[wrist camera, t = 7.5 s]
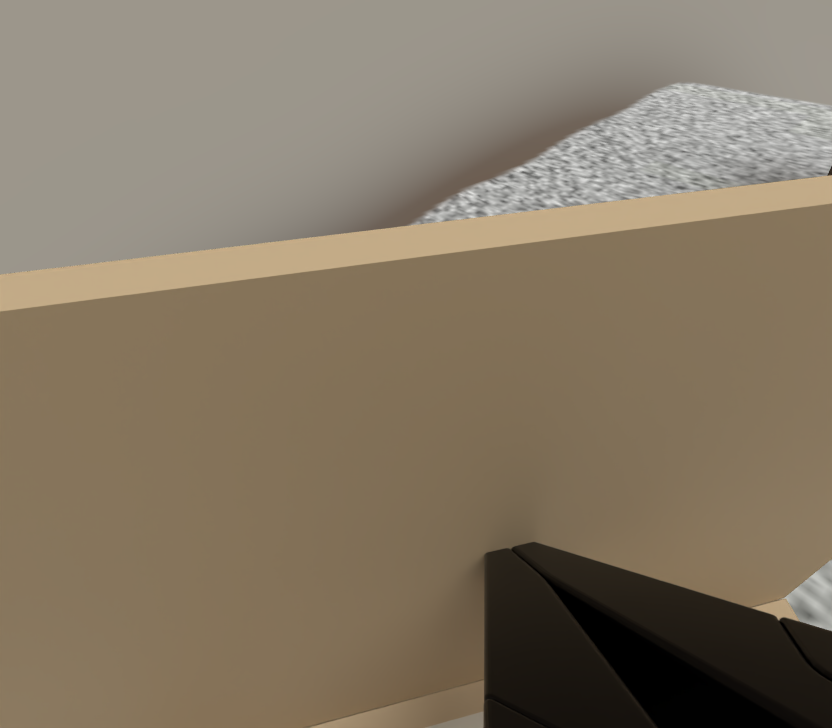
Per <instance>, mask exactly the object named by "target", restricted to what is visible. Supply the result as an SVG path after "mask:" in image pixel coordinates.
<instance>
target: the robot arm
mask: <svg viewBox="0 0 832 728" xmlns="http://www.w3.org/2000/svg"><path fill="white" fill-rule="evenodd" d="M483 728H832V631H829V630H825V629H822V628H819V627H816V626H812V625H809V624H806V623H803V622H799V621H796V620H793V619H790V618H786V617H782V618H780V620H778V618H777V617H776V616H775V615H773V614H769V613H766V612H763V611H759V610H756V609H753V608H750V607H746V606H743V605H740V604H737V603H733V602H730V601H727V600H724V599H720V598H717V597H714V596H710V595H707V594H704V593H701V592H697V591H694V590H691V589H688V588H684V587H681V586H678V585H674V584H671V583H668V582H665V581H661V580H658V579H655V578H652V577H648V576H645V575H642V574H638V573H635V572H632V571H629V570H625V569H622V568H619V567H616V566H612V565H609V564H606V563H603V562H599V561H596V560H593V559H590V558H586V557H583V556H580V555H576V554H573V553H570V552H567V551H563V550H560V549H557V548H554V547H550V546H547V545H544V544H541V543H537V542H530V543H526V544H522V545H517V546H514V547H512V549H509V548H504V549H500V550H496V551H491V552H487V553H486V554H485V555H484V707H483Z"/></svg>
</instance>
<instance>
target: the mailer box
mask: <svg viewBox="0 0 832 728" xmlns="http://www.w3.org/2000/svg"><path fill="white" fill-rule="evenodd" d="M750 608H753V609H756V610H759V611H763V612H766V613H769V614H773V615H775V616H776V617H777V618H778V620H780V618H782V617H786V618H790V619H793V620H796V621H799V619H798V618H797V616H796V615H795V613H794V611H793V610H792V608H791V606H790V605H789V603H788V601H787V600H786V599H780V600H774V601H770V602H766V603H763V604H759V605H755V606H752V607H750ZM799 622H800V621H799ZM483 707H484V679H481V680H477V681H473V682H470V683H466V684H462V685H459V686H455V687H451V688H448V689H444V690H440V691H436V692H433V693H429V694H425V695H422V696H418V697H414V698H410V699H407V700H403V701H399V702H396V703H392V704H388V705H385V706H381V707H377V708H373V709H370V710H366V711H362V712H359V713H355V714H351V715H347V716H344V717H340V718H336V719H333V720H329V721H325V722H322V723H318V724H314V725H310V726H307V727H303V728H483Z"/></svg>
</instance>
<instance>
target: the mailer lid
mask: <svg viewBox="0 0 832 728" xmlns="http://www.w3.org/2000/svg"><path fill="white" fill-rule="evenodd" d="M530 542H537V543H541V544H544V545H547V546H550V547H554V548H557V549H560V550H563V551H567V552H570V553H573V554H576V555H580V556H583V557H586V558H590V559H593V560H596V561H599V562H603V563H606V564H609V565H612V566H616V567H619V568H622V569H625V570H629V571H632V572H635V573H638V574H642V575H645V576H648V577H652V578H655V579H658V580H661V581H665V582H668V583H671V584H674V585H678V586H681V587H684V588H688V589H691V590H694V591H697V592H701V593H704V594H707V595H710V596H714V597H717V598H720V599H724V600H727V601H730V602H733V603H737V604H740V605H743V606H746V607H752V606H755V605H759V604H763V603H766V602H770V601H774V600H777V599H781V598H784V597H786V596H787V595H788V594H789V593H791V592H792V591H793V590H794V589H795V588H797V587H798V586H799V585H800V584H802V583H803V582H804V581H805V580H807V579H808V578H809V577H810V576H811V575H813V574H814V573H815V572H816V571H818V570H819V569H820V568H821V567H822V566H824V565H825V564H826V563H827V562H829V561H830V560H831V559H832V175H830V176H822V177H813V178H805V179H797V180H788V181H780V182H772V183H763V184H755V185H746V186H738V187H730V188H721V189H713V190H705V191H696V192H688V193H680V194H671V195H663V196H654V197H646V198H638V199H629V200H621V201H613V202H604V203H596V204H587V205H579V206H571V207H562V208H554V209H546V210H537V211H529V212H521V213H512V214H504V215H495V216H487V217H479V218H470V219H462V220H454V221H445V222H437V223H428V224H420V225H412V226H403V227H396V228H387V229H378V230H370V231H362V232H353V233H345V234H337V235H328V236H320V237H311V238H303V239H295V240H286V241H278V242H270V243H261V244H253V245H244V246H236V247H228V248H219V249H211V250H203V251H194V252H186V253H177V254H169V255H161V256H152V257H144V258H136V259H127V260H119V261H111V262H102V263H94V264H85V265H77V266H69V267H61V268H52V269H44V270H35V271H27V272H19V273H10V274H2V275H0V728H303V727H307V726H310V725H314V724H318V723H322V722H325V721H329V720H333V719H336V718H340V717H344V716H347V715H351V714H355V713H359V712H362V711H366V710H370V709H373V708H377V707H381V706H385V705H388V704H392V703H396V702H399V701H403V700H407V699H410V698H414V697H418V696H422V695H425V694H429V693H433V692H436V691H440V690H444V689H448V688H451V687H455V686H459V685H462V684H466V683H470V682H473V681H477V680H481V679H484V555H485V554H486V553H487V552H491V551H496V550H500V549H504V548H509V549H512V547H514V546H517V545H522V544H526V543H530Z"/></svg>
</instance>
